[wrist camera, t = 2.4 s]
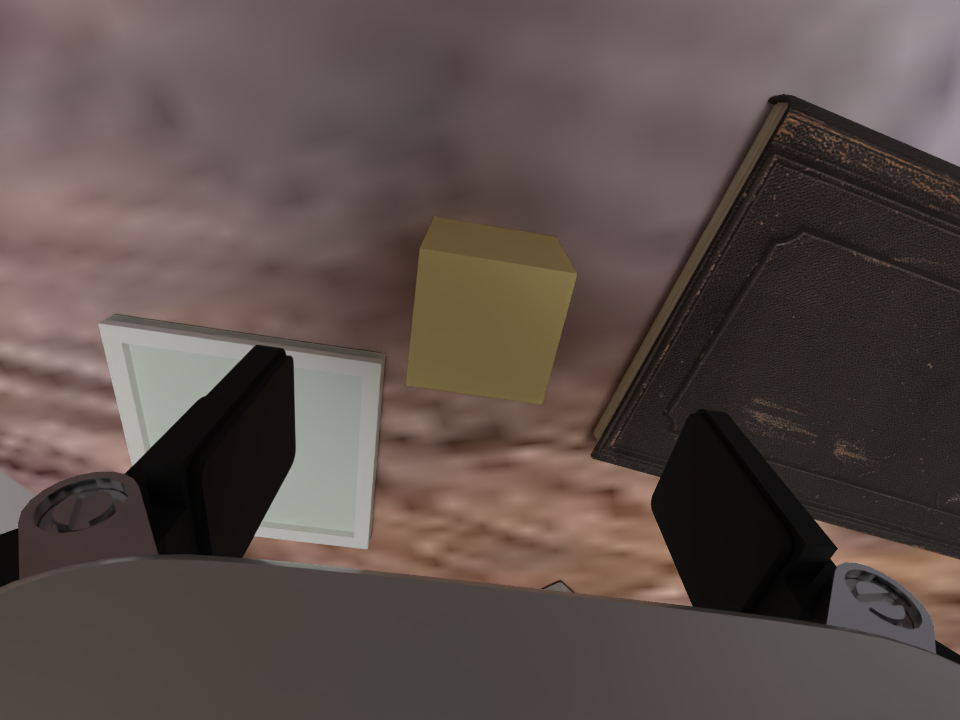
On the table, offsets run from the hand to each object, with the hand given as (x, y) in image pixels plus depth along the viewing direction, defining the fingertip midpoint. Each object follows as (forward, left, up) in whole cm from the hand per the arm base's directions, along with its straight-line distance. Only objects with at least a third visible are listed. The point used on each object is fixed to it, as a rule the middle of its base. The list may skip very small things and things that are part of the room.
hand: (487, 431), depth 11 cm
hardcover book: (+1, +19, -11) cm, 22 cm away
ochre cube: (0, 0, -10) cm, 10 cm away
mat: (+10, -10, -10) cm, 17 cm away
